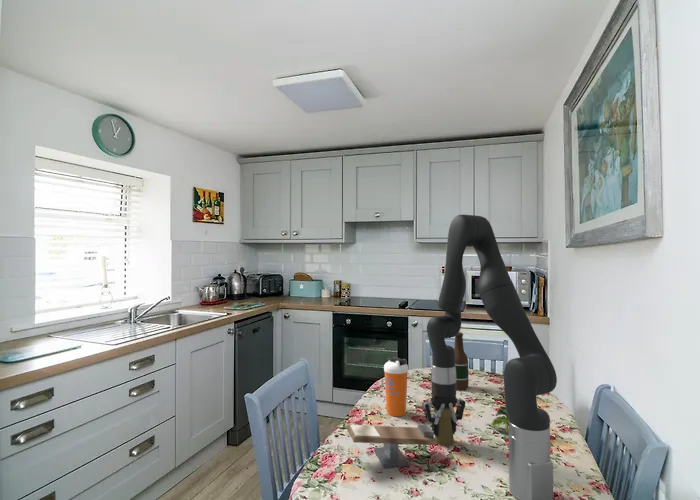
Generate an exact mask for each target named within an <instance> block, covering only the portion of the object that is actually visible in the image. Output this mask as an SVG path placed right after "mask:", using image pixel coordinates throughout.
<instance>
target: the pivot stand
mask: <svg viewBox="0 0 700 500" xmlns="http://www.w3.org/2000/svg"><path fill="white" fill-rule="evenodd" d="M373 451H374V454H375V455H376V457H377V459H378V460H379V462H380V463H381V465H382V466H383V469H384V470H385V469H393V468H401V467H402V468H403V467H409V465H410V464H409V461H408V459H407V458H406V456H405V455H404V454H403V452H402V451H401V450H400V448H399V444H387V443H383V446H382V447H381V446H379V447H374V449H373Z"/></svg>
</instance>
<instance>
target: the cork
mask: <svg viewBox="0 0 700 500" xmlns="http://www.w3.org/2000/svg"><path fill="white" fill-rule="evenodd" d="M437 412H438V411H437V410H436V413H437ZM451 417H452V411H451V410H450V409H449V408H444V409H443V410H442V411H441V417H440V418H439V421H438V436H435V435H434V438H435V440H436V442H435V445H439V446H442V447H451V446H453V445H454V444H455V440H454V434H453V430H452V423H451Z"/></svg>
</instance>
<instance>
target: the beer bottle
mask: <svg viewBox="0 0 700 500" xmlns="http://www.w3.org/2000/svg"><path fill="white" fill-rule="evenodd" d="M463 336H464V333H463V332H461V331H459V333H458V334H457V335H456V336H455V337H454V347H453V348H454V350H455V369H456V391H466V390H467V389H469V359H468V355H467V353H466V352H465V351H464V350H465V349H464V338H463Z"/></svg>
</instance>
